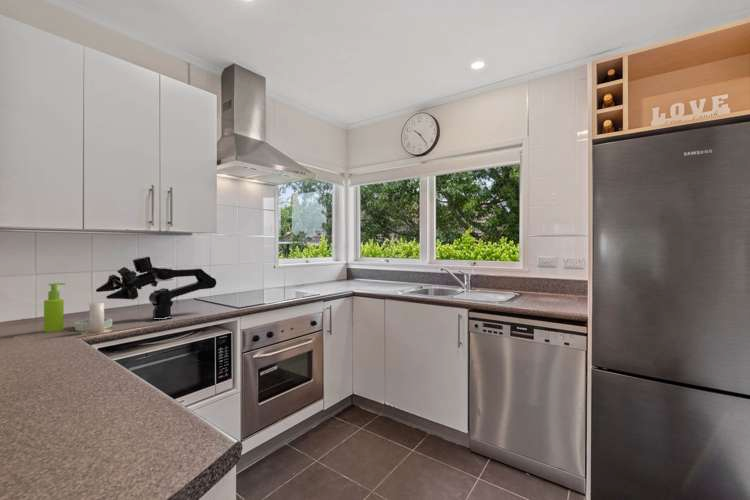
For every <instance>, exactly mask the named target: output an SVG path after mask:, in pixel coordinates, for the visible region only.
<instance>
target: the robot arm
mask: <svg viewBox="0 0 750 500" xmlns="http://www.w3.org/2000/svg"><path fill="white" fill-rule="evenodd" d="M132 263H133V266H134V269H135V271H134V270H130V269H129V268H127V267H125V266H123V267H122V268H120V269H118V270H117V273H118V274H119V275H120V276H121V277H120V276H118V275H115V274H111V275H109V276H108V278H107V279H108V280H107V282H105V283H103V284H102V285H101V286H99V287H98V288H96V289H95V292H96V293H102V292H112V293H110V294H108V295H107V296H105V297H106V299H110V300H112V299H113V300H115V299H116V300H132V301H133V300H137V298H138V297H139V293H138V290H142V288H144V287H146V286H149V285H151V287H155V288H156V287H157V286H158V283H159V281H166V280H167V281H168V280H171V279H174V278H181V277H183V278H184V277H185V278H186V277H195V279H196V282H193V283H190V284H186V285H183V286H179V287H176V288H173V289H170V290H169V288H163V287H162V288H160V289H157V290H155V289H154V290H153V291H152V292H151V293H150V294H149V297H148V300H149V302H150V303H151V304H152V306H153V307H154V308H153V309H152V319H153V318H165V317H169V316H171V315H172V313H171V310H172V309H171V307H172V306H173V304H174V302H173V299H174V298H177V297H180V296H184V295H186V294H190V293H193V292H195V291H200V290H208V289H213V288H215V287H216V286H217V279H216V278H214V277H212V276H211V275H210V274H209V273H207V272H206V271H204V270H203V269H202V268H190V269H189V268H188V269H172V268H171V269H170V268H162V267H160V268H159V267H154V266H153V265H152V261H151V257H150V256H144V257H141V258H140V257H138V258H135V259H132ZM136 272H137V273H139V274H137V273H136ZM157 280H158V281H157ZM119 289H120V290H119ZM113 291H114V292H113ZM171 317H172V316H171Z"/></svg>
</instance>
